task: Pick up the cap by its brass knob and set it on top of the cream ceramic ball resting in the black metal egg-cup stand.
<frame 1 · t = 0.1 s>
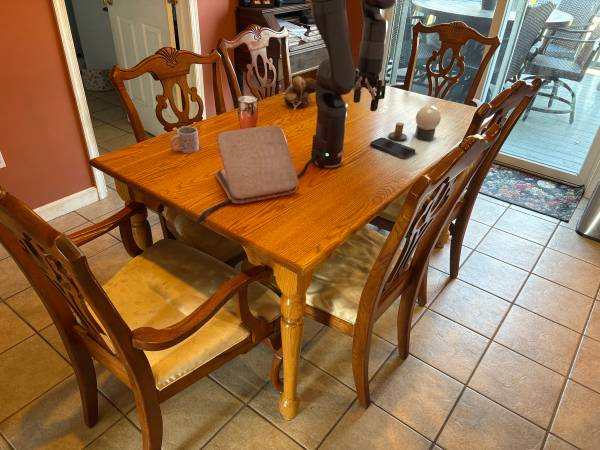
hand: (364, 106, 146), 17 cm above the table, tool pointing down, fingers open, 8 cm apart
beer glass: (248, 140, 161), on the table
mug: (184, 150, 152), on the table
stand: (424, 137, 171), on the table
ball: (428, 118, 167), point 7 cm above the table, touching stand
cap: (397, 138, 169), on the table
seed pod: (297, 105, 195), on the table
case: (255, 185, 135), on the table
phone: (392, 149, 161), on the table
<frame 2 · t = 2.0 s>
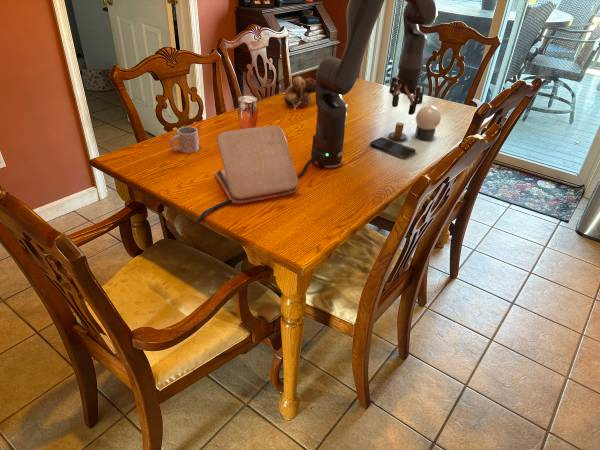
hand: (402, 110, 163), 11 cm above the table, tool pointing down, fingers open, 8 cm apart
nothing on the table moved.
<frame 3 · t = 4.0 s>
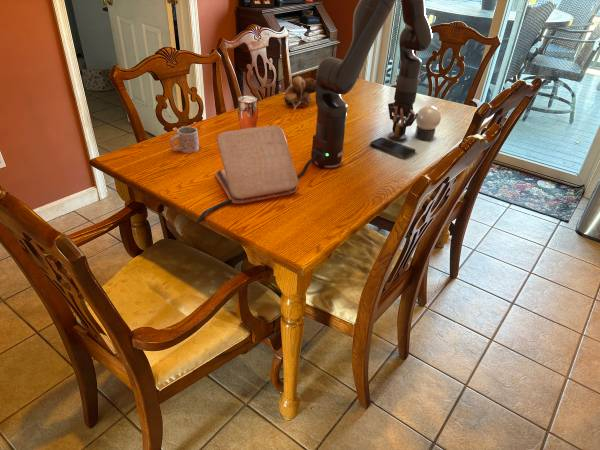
hand: (398, 133, 168), 2 cm above the table, tool pointing down, fingers closed on cap, 3 cm apart
cap: (397, 137, 169), on the table, touching gripper
everything else where it was.
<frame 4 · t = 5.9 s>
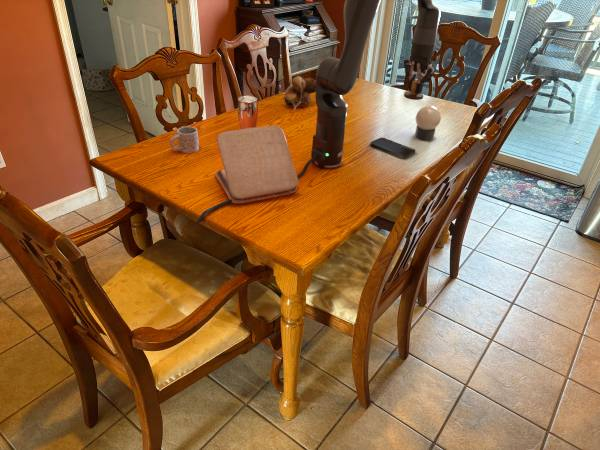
hand: (414, 91, 160), 17 cm above the table, tool pointing down, fingers closed on cap, 3 cm apart
cap: (413, 96, 161), point 16 cm above the table, touching gripper
everything else where it was.
when the fingers open (14 cm above the table, at t = 8.1 s): cap stays where it is, resting on ball.
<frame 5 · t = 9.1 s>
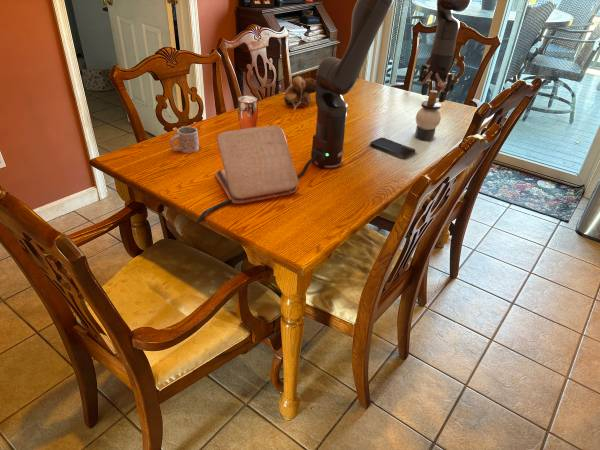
hand: (432, 98, 163), 15 cm above the table, tool pointing down, fingers open, 8 cm apart
ball: (428, 118, 167), point 7 cm above the table, touching cap, stand
cap: (430, 106, 165), point 12 cm above the table, touching ball
everything else where it was.
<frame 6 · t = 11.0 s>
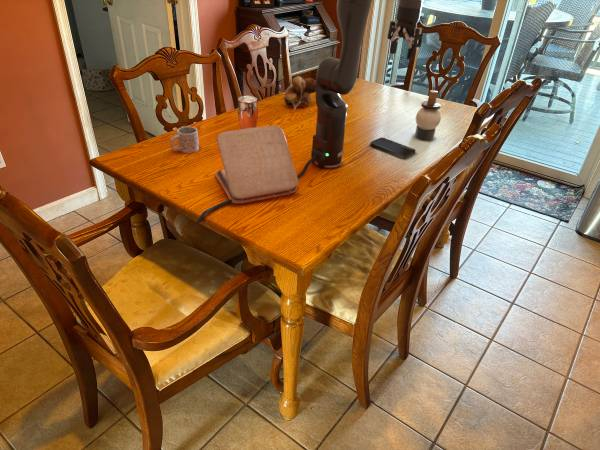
hand: (401, 56, 157), 29 cm above the table, tool pointing down, fingers open, 8 cm apart
nothing on the table moved.
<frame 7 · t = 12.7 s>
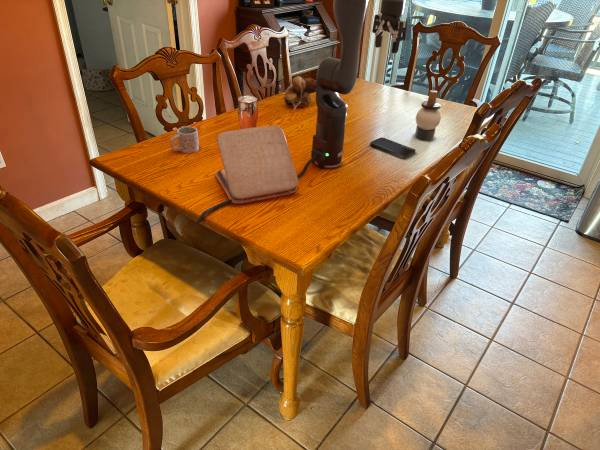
hand: (385, 50, 157), 30 cm above the table, tool pointing down, fingers open, 8 cm apart
nothing on the table moved.
at the end: cap 0.0 cm from the ball (horizontally); cap point 11.9 cm above the table; ball 0.0 cm off-centre on the stand, point 7.4 cm above the stand's base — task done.
